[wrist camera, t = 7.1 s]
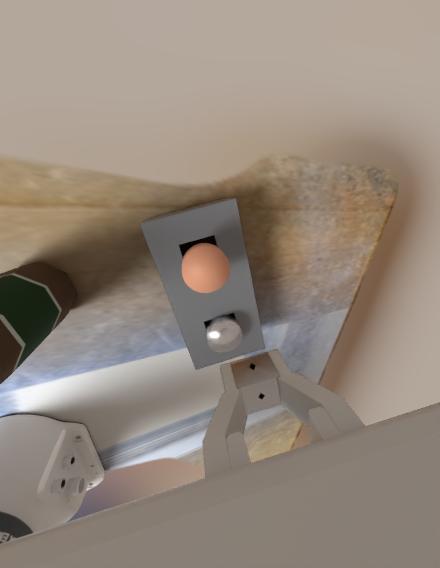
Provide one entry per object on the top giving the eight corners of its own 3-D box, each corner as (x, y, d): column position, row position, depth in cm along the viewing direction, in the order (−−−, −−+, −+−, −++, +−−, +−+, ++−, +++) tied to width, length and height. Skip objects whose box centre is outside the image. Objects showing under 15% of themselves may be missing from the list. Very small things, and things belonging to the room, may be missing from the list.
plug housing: (253, 327, 35) (265, 347, 30) (193, 346, 34) (195, 369, 29) (226, 197, 26) (236, 198, 22) (146, 219, 26) (139, 224, 21)
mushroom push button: (223, 266, 26) (234, 285, 21) (187, 276, 26) (189, 298, 20) (214, 230, 24) (224, 240, 19) (176, 240, 24) (175, 254, 18)
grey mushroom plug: (234, 320, 33) (245, 346, 27) (206, 329, 33) (212, 356, 27) (228, 295, 31) (238, 317, 25) (198, 304, 31) (202, 328, 25)
